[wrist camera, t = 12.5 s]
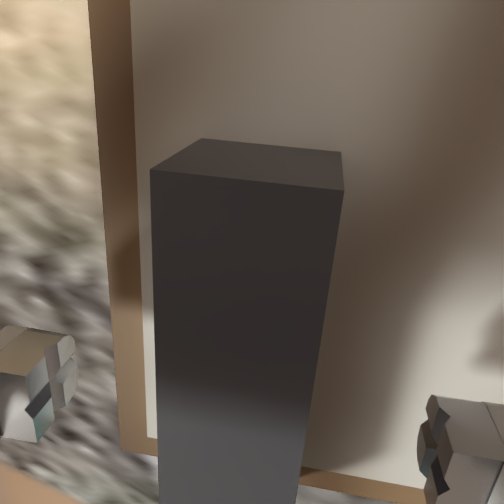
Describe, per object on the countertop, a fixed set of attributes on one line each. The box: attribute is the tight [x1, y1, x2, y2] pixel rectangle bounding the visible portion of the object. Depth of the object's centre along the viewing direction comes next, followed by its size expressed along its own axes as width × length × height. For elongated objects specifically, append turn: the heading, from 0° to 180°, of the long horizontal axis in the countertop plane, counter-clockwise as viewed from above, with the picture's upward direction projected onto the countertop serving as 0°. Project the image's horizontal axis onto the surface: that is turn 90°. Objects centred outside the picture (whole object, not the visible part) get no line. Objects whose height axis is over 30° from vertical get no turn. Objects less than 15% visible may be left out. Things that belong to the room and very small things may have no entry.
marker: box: [150, 138, 344, 504], centre depth 10 cm, size 3×10×3 cm, turn 176°
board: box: [88, 0, 504, 504], centre depth 10 cm, size 14×16×1 cm
